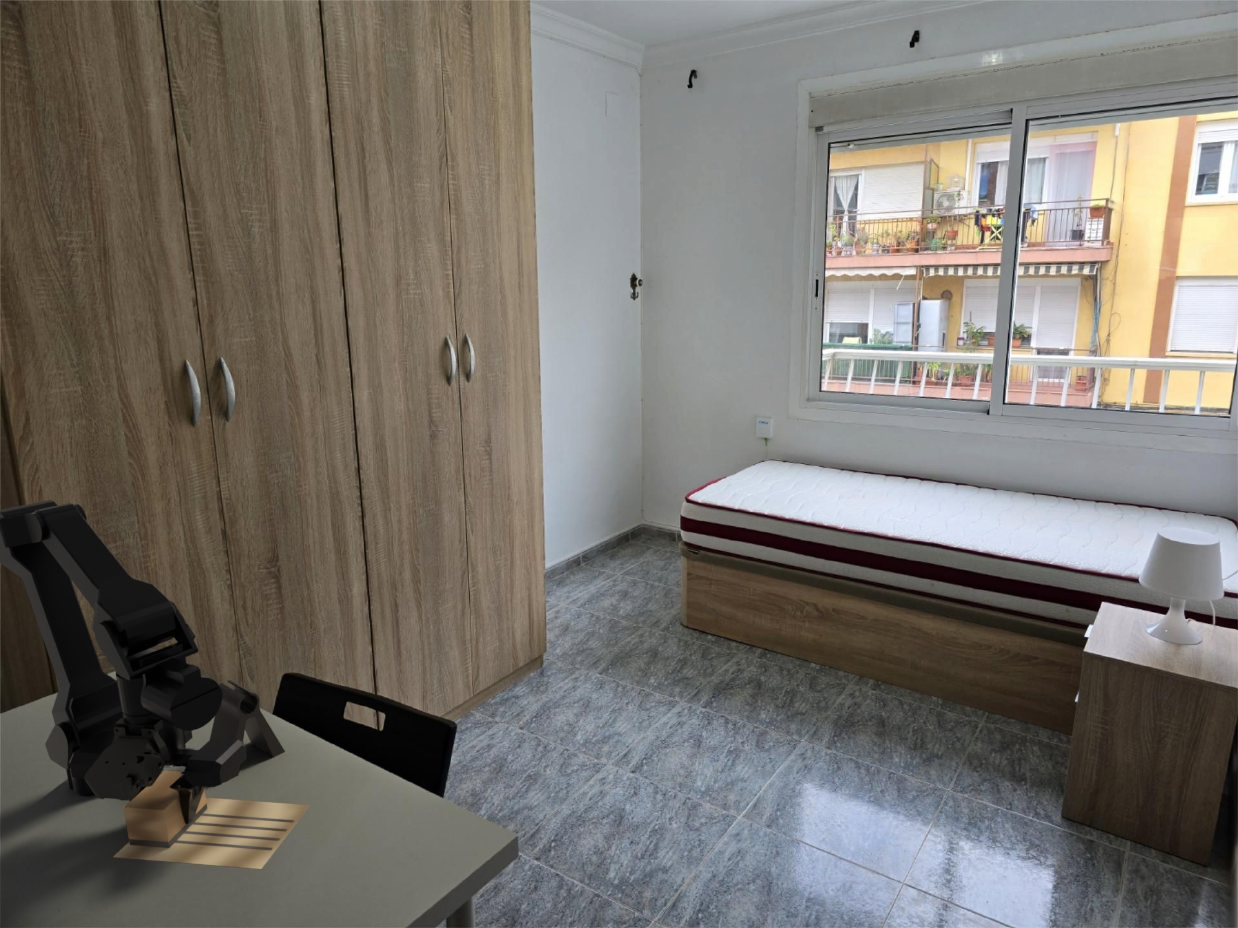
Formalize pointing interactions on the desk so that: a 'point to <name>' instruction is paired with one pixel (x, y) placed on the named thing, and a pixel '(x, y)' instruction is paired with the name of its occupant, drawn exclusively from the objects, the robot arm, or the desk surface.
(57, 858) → the desk surface
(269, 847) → the pine board
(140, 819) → the block
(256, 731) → the phone stand
